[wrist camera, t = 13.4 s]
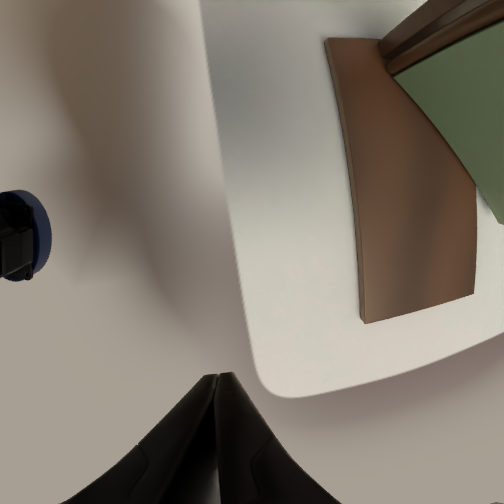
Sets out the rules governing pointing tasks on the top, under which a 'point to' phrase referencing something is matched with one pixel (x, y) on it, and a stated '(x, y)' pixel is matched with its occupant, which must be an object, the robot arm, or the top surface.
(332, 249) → the top surface
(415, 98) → the door
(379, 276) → the door frame
